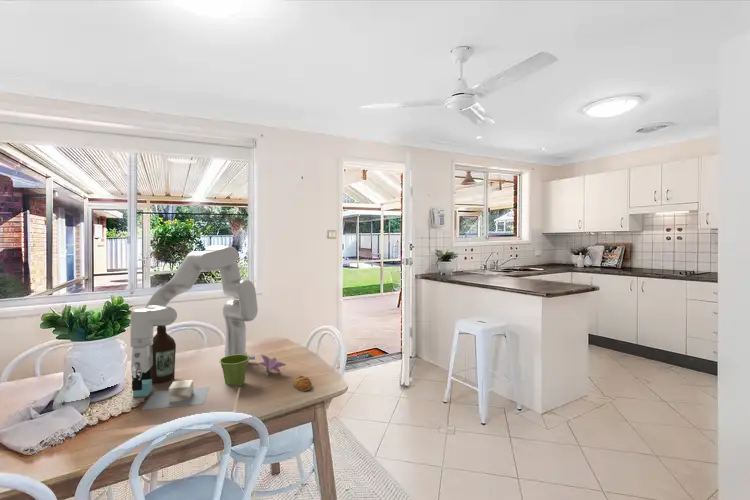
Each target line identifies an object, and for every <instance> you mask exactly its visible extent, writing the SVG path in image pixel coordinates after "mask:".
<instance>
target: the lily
mask: <svg viewBox="0 0 750 500" xmlns="http://www.w3.org/2000/svg"><path fill="white" fill-rule="evenodd" d="M260 355H261V358H262V360H263V361H262V362H258V363H257V365H260V366H263V367H265V369H266V372H267V377H266V379H268V378H269V373H270V372H271V371H276V372H277V373H279V372H280V373H281V370H280V367H285V366H287V364H286V363H283V362H281V361H277V357H272V358H270V357H268V356H266V355H264V354H260Z"/></svg>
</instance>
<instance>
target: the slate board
mask: <svg viewBox="0 0 750 500" xmlns="http://www.w3.org/2000/svg"><path fill="white" fill-rule="evenodd" d="M210 388H211V386H200V387H193V394H192V396H191V398H190V400H184V401H174V402H169V389H168V390H167V389H166V390H155V391H154V392H153V393H152V395H151V396H150V397H149V399H148V400H147V401H146V403H145V404H144V405H143V407H142V409H141V411H143V410H144V411H145V410H153V409H154V410H155V409H156V410H157V409H165V408H174V407H175V408H177V407H185V406H187V407H188V406H196V405H197V406H198V405H204V403H205V401H206V398H207V396H208V393H209V392H210Z"/></svg>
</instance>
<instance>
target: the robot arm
mask: <svg viewBox="0 0 750 500" xmlns="http://www.w3.org/2000/svg"><path fill="white" fill-rule="evenodd" d="M238 259H239V252H238V250H237V249H236V248H235V247H234V246H231V245H219V244H216V245H215V244H214V245H209V246H208V247H206V248H205V250H204V251H201V250H200V251H199V250H197V251H196V250H195V251H194V250H193V251H191V252H189V253H187V254H186V256H185V258H184V259H183V260H182V262H181V264H180V265H179V267H178V269H177V270H176V271H175V273H174V275H173V276H172V278H171V279H170V280H169V281H167V282H166V283H165V284H163V285H162V286H161V287H160V288H159V289H158V290H156V291H155V292H154V294H153V295H152V296H151V297H150V299H149V300H148V301H147V304H146V305H145V307H144V308H136V309H132V310H131V312H130V330H129V332H130V335H129V336H130V337H129V338H130V339H129V341H130V342H129V343H130V345H129V346H130V348H132V350H131V351H132V352H131V365H130V366H131V391H132V392H133V391H138V390H142V380H148V379H150V369H151V367H152V366H153V348H152V345H153V337H154V327H157V326H169V325H172V324H173V323H174V322H176V320H177V319H178V313H177V311H176V309H174V308H172V307H171V306H167V305H169V302H171V301H172V300H174V298H175V297H178V296H179V295H181V294H184V293H186V292H188V291H190V290H191V289H192V288H193V286H194V284H195V283H196V281H197V279H198V278H199V276H200V274H201V273H202V272H213V271H216V270H219V273H220V279H221V284H222V291H223V294H224V296H226V297H227V298H230V299H229V300H227V301H226V302H225V304H224V305H223V308H222V314H223V315H222V316H223V320H224V357H225V356H229V355H236V354H243V355H247V356H249V360H248V363H247V365H249V363H250V360H252V361H253V360H256V355H254V354H248V352H247V349H246V348H247V345H246V343H247V338H246V336H247V335H246V334H247V333H246V332H247V328H246V323H245V322H252V321H254V320H255V319H256V318H257V315H258V310H259V309H258V308H259V307H258V300H257V292H256V287H255V285H254V284H253V282H252V281H251V280H249V279H244V278H242V277H241V273H240V268H239V265H238V262H237V261H238Z"/></svg>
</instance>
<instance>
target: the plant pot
mask: <svg viewBox="0 0 750 500" xmlns="http://www.w3.org/2000/svg"><path fill="white" fill-rule="evenodd" d="M247 355H248V354H247ZM247 355H243V354H236V355H229V356H225V355H224V356H222V357H221V358H220V359H219V363H220V365H221V368H222V373H223V378H224V383H225V385H228V386H236V385H238V387H242V386H244V384H245V378H246V371H247V366H248V364H249V363H248V360H249V356H247ZM249 361H250V360H249ZM247 363H248V364H247Z"/></svg>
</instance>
